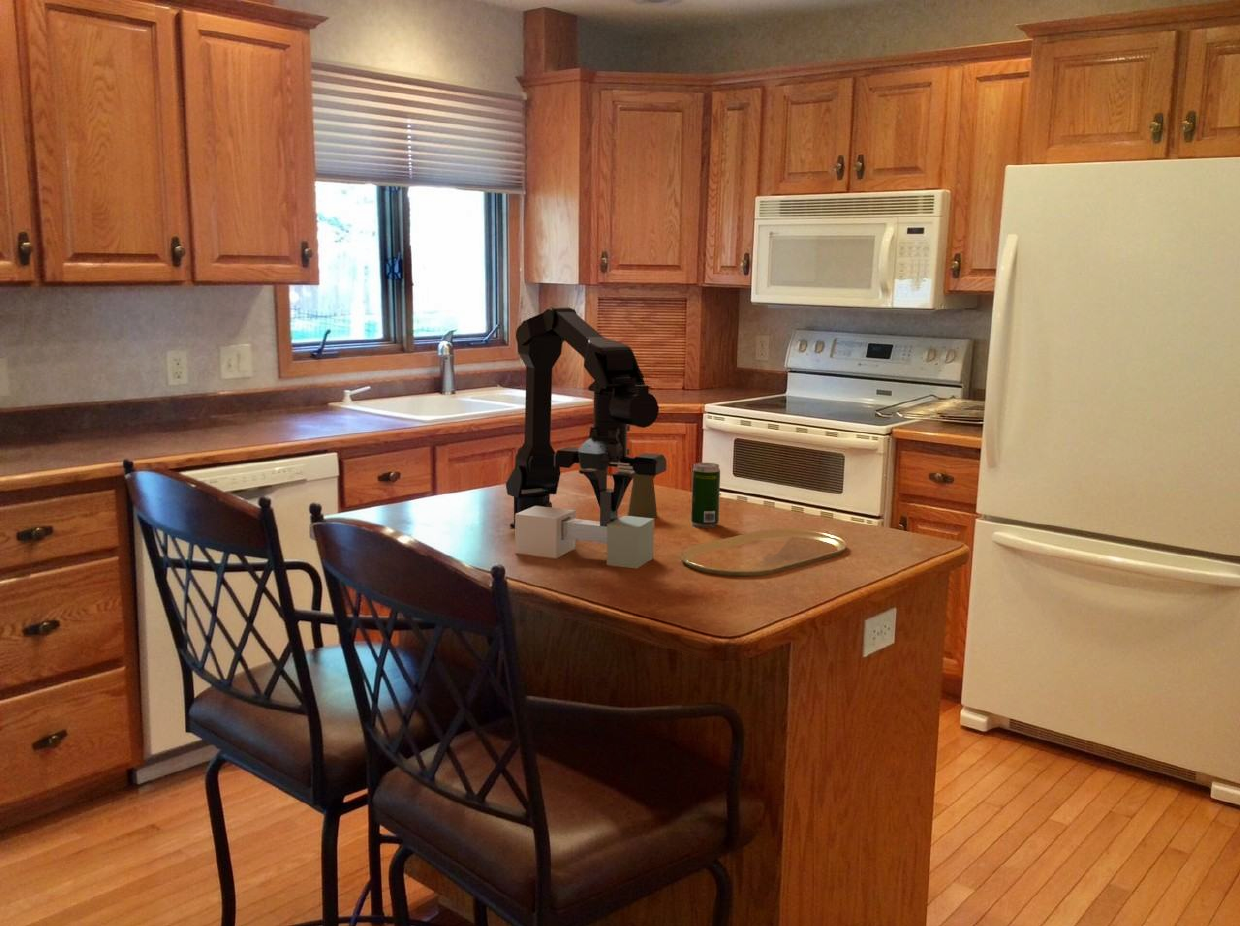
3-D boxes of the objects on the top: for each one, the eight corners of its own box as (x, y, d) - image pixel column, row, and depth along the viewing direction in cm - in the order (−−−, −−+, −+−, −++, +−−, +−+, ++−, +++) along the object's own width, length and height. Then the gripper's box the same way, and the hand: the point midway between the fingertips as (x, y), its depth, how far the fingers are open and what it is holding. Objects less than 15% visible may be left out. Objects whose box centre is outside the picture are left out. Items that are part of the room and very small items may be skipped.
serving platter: (657, 562, 186) (658, 553, 186) (784, 532, 210) (785, 524, 210) (741, 586, 173) (741, 577, 172) (866, 551, 196) (867, 542, 196)
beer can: (723, 526, 212) (725, 466, 210) (699, 528, 210) (701, 468, 207) (709, 520, 217) (711, 461, 215) (686, 523, 214) (687, 463, 212)
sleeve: (515, 553, 189) (515, 514, 188) (535, 543, 196) (535, 505, 195) (556, 558, 186) (556, 518, 185) (575, 548, 193) (575, 510, 192)
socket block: (606, 564, 183) (607, 524, 181) (624, 554, 190) (624, 515, 188) (636, 568, 181) (637, 527, 179) (653, 558, 187) (654, 518, 186)
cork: (654, 519, 217) (655, 465, 215) (625, 517, 218) (626, 464, 216) (659, 513, 223) (660, 460, 221) (630, 511, 224) (631, 459, 222)
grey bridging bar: (552, 537, 188) (553, 486, 187) (560, 533, 191) (560, 483, 190) (632, 546, 183) (633, 494, 181) (639, 543, 186) (640, 491, 184)
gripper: (539, 422, 179) (538, 514, 181) (644, 430, 172) (642, 525, 174) (568, 414, 189) (567, 501, 191) (668, 421, 182) (666, 512, 184)
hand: (609, 510), depth 185 cm, fingers closed on grey bridging bar, 2 cm apart
